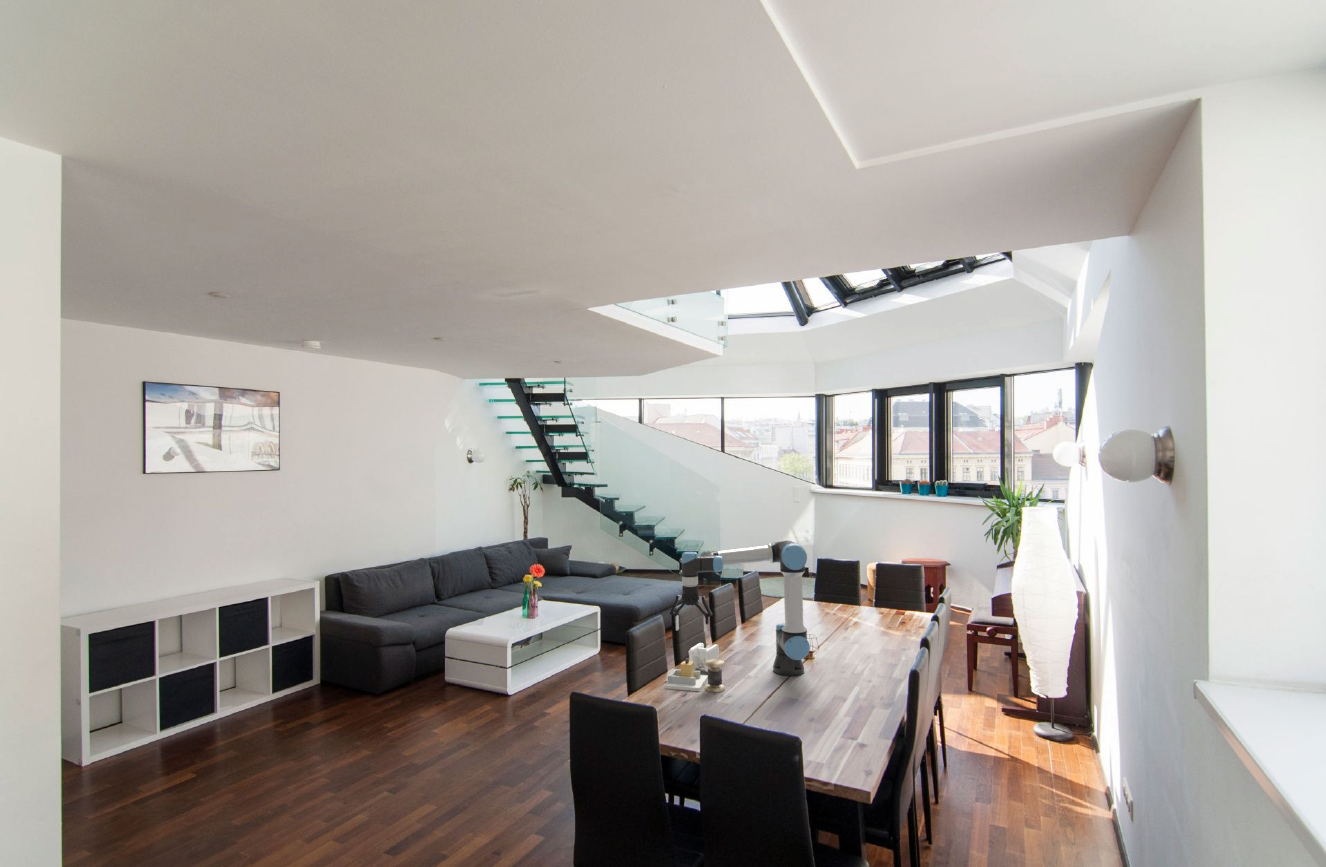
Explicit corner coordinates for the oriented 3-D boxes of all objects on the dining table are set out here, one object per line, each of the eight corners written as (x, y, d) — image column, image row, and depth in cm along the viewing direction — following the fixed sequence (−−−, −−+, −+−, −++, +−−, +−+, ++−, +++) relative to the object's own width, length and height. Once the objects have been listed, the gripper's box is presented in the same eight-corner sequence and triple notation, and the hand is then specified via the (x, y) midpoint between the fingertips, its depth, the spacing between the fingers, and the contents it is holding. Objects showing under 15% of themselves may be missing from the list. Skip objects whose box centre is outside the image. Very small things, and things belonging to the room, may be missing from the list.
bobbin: (726, 686, 309) (726, 660, 309) (722, 693, 300) (722, 666, 301) (707, 684, 312) (707, 658, 312) (703, 691, 303) (702, 664, 303)
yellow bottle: (693, 679, 315) (693, 657, 316) (691, 682, 311) (690, 660, 311) (683, 678, 317) (683, 656, 317) (680, 681, 312) (680, 659, 312)
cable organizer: (707, 675, 325) (707, 651, 325) (688, 672, 330) (687, 648, 330) (719, 666, 338) (719, 643, 339) (700, 664, 343) (700, 641, 343)
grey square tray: (708, 678, 320) (708, 669, 320) (699, 691, 303) (699, 681, 303) (675, 676, 325) (675, 666, 325) (665, 688, 307) (665, 678, 307)
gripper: (717, 584, 316) (718, 629, 316) (666, 582, 323) (667, 627, 322) (714, 587, 309) (715, 633, 308) (662, 585, 316) (663, 631, 315)
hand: (691, 630), depth 315 cm, fingers open, 13 cm apart
